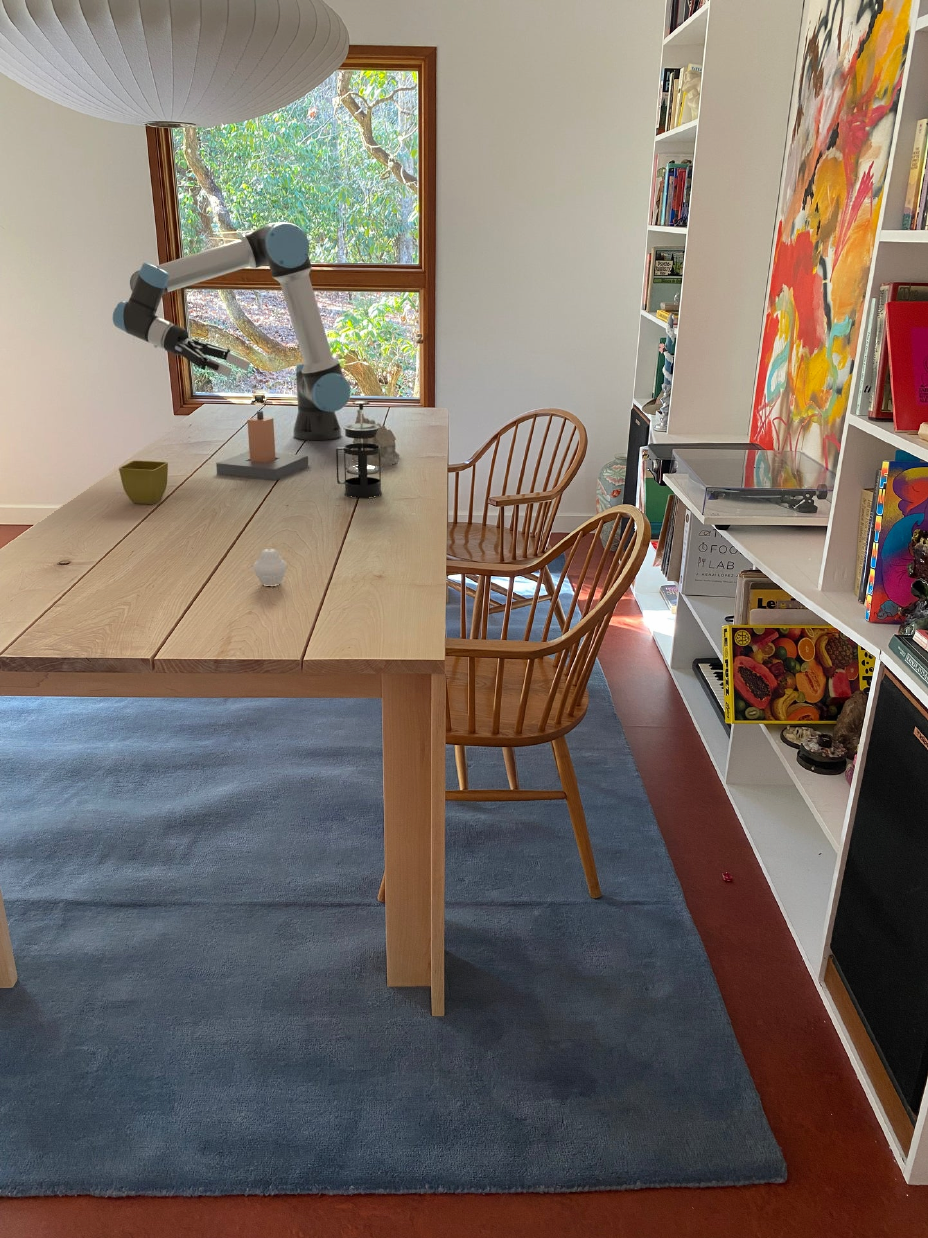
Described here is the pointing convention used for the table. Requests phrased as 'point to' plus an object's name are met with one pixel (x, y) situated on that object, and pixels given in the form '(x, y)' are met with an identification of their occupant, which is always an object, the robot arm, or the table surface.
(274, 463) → the socket
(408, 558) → the table surface
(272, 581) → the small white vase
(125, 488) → the flower pot
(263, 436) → the plug
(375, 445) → the french press
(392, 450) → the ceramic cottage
